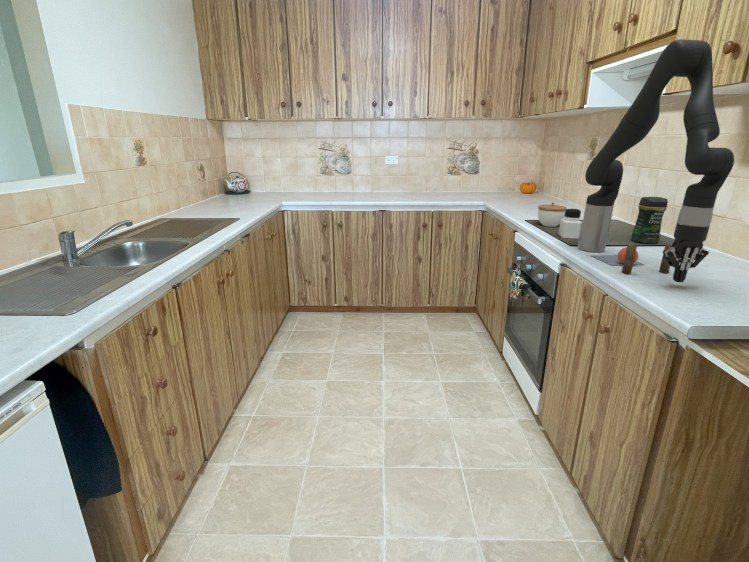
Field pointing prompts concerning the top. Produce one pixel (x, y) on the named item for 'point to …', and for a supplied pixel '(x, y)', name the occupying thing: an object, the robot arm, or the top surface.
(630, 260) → the post
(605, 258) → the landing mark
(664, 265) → the post
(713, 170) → the robot arm
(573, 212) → the medicine bottle
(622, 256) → the ball
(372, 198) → the top surface
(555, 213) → the white lidded pot
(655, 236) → the coffee jar
